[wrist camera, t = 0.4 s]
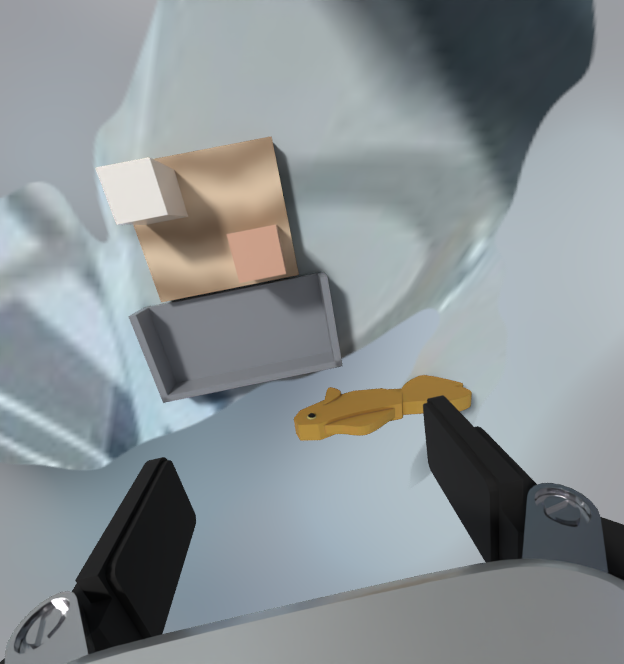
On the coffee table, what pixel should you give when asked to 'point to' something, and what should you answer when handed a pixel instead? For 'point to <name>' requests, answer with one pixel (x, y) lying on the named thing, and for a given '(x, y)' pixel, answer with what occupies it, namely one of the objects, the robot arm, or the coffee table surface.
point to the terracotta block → (257, 253)
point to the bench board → (216, 218)
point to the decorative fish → (374, 407)
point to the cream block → (142, 192)
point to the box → (239, 337)
